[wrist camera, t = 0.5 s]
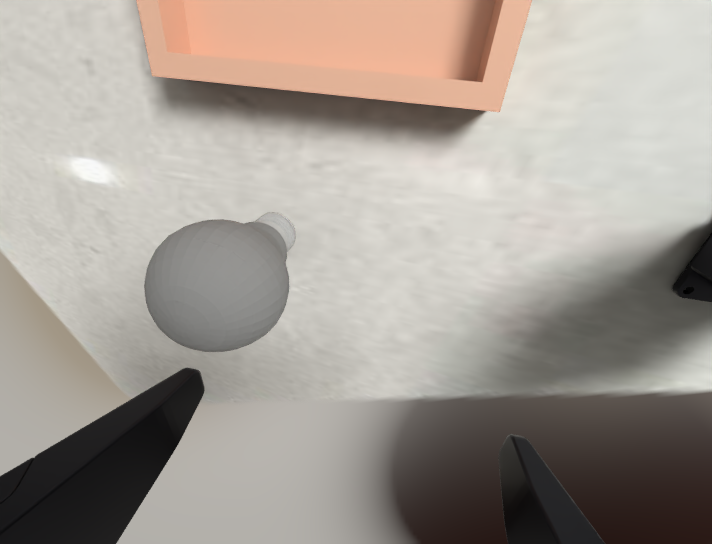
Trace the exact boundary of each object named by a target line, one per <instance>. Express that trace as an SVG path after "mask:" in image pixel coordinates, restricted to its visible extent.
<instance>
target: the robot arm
mask: <svg viewBox="0 0 712 544" xmlns="http://www.w3.org/2000/svg"><path fill="white" fill-rule="evenodd" d="M687 287H688V288H687ZM685 288H687V289H685ZM672 289H673V292H674V293H676V294H677V295H678V296H680V297H682V298H688V299H695V300H701V301H708V302H712V234H711V235H710V237H709V238H708V239H707V241H706V242H705V243H704V245H703V246H702V248H701V249H700V250H699V252H698V253H697V254H696V256H695V257H694V258H693V260H692V261H691V263H690V264H689V265H688V267H687V268H686V269H685V271H684V272H683V273H682V275H681V276H680V278H679V279H678V280H677V282H676V283H675V284H674V286H673V288H672ZM684 289H685V290H684ZM203 394H204V384H203V380H202V377H201V373H200V371H199V370H196V369H191V368H185V369H182V370H180V371H179V372H177V373H175V374H174V375H172V376H170V377H169V378H167V379H165V380H163V381H162V382H160V383H158V384H157V385H155V386H153V387H152V388H150V389H148V390H146V391H145V392H143V393H141V394H140V395H138V396H136V397H135V398H133V399H131V400H129V401H128V402H126V403H124V404H123V405H121V406H119V407H118V408H116V409H114V410H112V411H111V412H109V413H107V414H106V415H104V416H102V417H101V418H99V419H97V420H95V421H94V422H92V423H90V424H89V425H87V426H85V427H84V428H82V429H80V430H78V431H77V432H75V433H73V434H72V435H70V436H68V437H67V438H65V439H63V440H61V441H60V442H58V443H56V444H55V445H53V446H51V447H50V448H48V449H46V450H45V451H43V452H41V453H39V454H38V455H37V456H35V458H31V459H29V460H27V461H26V462H24V463H22V464H21V465H19V466H17V467H16V468H14V469H12V470H10V471H8V472H7V473H5V474H3V475H2V476H0V544H116V543H117V541H118V540H119V538H120V537H121V535H122V533H123V532H124V530H125V529H126V527H127V525H128V524H129V522H130V521H131V519H132V517H133V516H134V514H135V513H136V511H137V509H138V508H139V506H140V505H141V503H142V501H143V500H144V498H145V497H146V495H147V494H148V492H149V490H150V489H151V487H152V486H153V484H154V482H155V481H156V479H157V478H158V476H159V474H160V473H161V471H162V470H163V468H164V466H165V465H166V463H167V462H168V460H169V458H170V457H171V455H172V454H173V452H174V450H175V449H176V447H177V445H178V443H179V441H180V440H181V438H182V436H183V434H184V432H185V430H186V428H187V426H188V424H189V422H190V420H191V418H192V416H193V414H194V412H195V410H196V408H197V406H198V404H199V402H200V400H201V398H202V396H203ZM499 469H500V479H501V491H502V502H503V513H504V521H505V529H506V535H507V540H508V544H605V543H604V542H603V540H602V539H601V538H600V536H599V535H598V534H597V532H596V531H595V529H594V528H593V527H592V526H591V524H590V523H589V521H588V520H587V519H586V517H585V516H584V515H583V513H582V512H581V511H580V509H579V508H578V507H577V505H576V504H575V502H574V501H573V500H572V498H571V497H570V496H569V494H568V493H567V492H566V490H565V489H564V488H563V486H562V485H561V484H560V482H559V481H558V480H557V478H556V477H555V476H554V474H553V473H552V472H551V470H550V469H549V468H548V466H547V465H546V463H545V462H544V461H543V459H542V458H541V457H540V455H539V454H538V453H537V451H536V450H535V449H534V447H533V446H532V445H531V444H530V442H529V441H528V440H527V439H526V438H525V437H523V436H518V435H513V434H510V435H508V436H507V438H506V440H505V441H504V443H503V445H502V447H501V449H500V451H499Z"/></svg>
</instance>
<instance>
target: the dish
mask: <svg viewBox="0 0 712 544" xmlns="http://www.w3.org/2000/svg"><path fill="white" fill-rule="evenodd" d="M136 1H137V6H138V10H139V15H140V20H141V25H142V29H143V34H144V39H145V44H146V48H147V53H148V58H149V63H150V67H151V72H152V76H156V77H166V78H176V79H185V80H195V81H205V82H214V83H224V84H233V85H243V86H253V87H262V88H272V89H282V90H291V91H301V92H310V93H320V94H330V95H339V96H349V97H359V98H368V99H378V100H387V101H397V102H407V103H416V104H426V105H436V106H445V107H455V108H464V109H474V110H484V111H493V112H500V109H501V106H502V102H503V99H504V96H505V92H506V89H507V85H508V82H509V78H510V75H511V71H512V68H513V65H514V61H515V58H516V54H517V51H518V47H519V44H520V40H521V37H522V33H523V30H524V27H525V23H526V20H527V16H528V13H529V9H530V6H531V2H532V0H136Z"/></svg>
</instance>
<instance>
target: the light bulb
mask: <svg viewBox="0 0 712 544" xmlns="http://www.w3.org/2000/svg"><path fill="white" fill-rule="evenodd" d="M295 239H296V232H295V229H294V226H293V224H292V223H291V222H290V220H289V219H288V218H286V217H285V216H283V215H282V214H279V213H275V212H270V213H266V214H264V215H263V216H261V217H260V218H259V219H258V220H256V221H255V222H249V223H245V224H243V223H239V222H235V221H230V220H224V219H223V220H207V221H202V222H198V223H194V224H191V225H188V226H185V227H183V228H182V229H180V230H178V231H176V232H175V233H173V234H171V235H169V236H168V237H167V238H166V239H165V240H164V241H163V242H162V243H161V245H160V246H159V247H158V248H157V249H156V251H155V253H154V254H153V256H152V258H151V260H150V262H149V265H148V268H147V272H146V278H145V285H144V287H145V297H146V303H147V307H148V310H149V312H150V314H151V316H152V318H153V320H154V322H155V323H156V325H157V326H158V327H159V328H160V330H161V331H162V332H163V333H164V334H165V335H167V336H168V337H169V338H170V339H172V340H173V341H175V342H177V343H179V344H181V345H183V346H185V347H188V348H191V349H195V350H200V351H205V352H223V351H230V350H234V349H238V348H241V347H244V346H247V345H249V344H251V343H253V342H255V341H256V340H258V339H260V338H261V337H263V336H264V335H266V334H267V333H268V332H269V331H270V330H271V329H272V328H273V327H274V326H275V325H276V323H277V321H278V320H279V318H280V316H281V314H282V312H283V311H284V308H285V305H286V302H287V297H288V293H289V276H288V271H287V267H286V264H285V262H286V258H287V252H288V250H289V249H290V248H291V247H292V245H293V244H294V242H295Z"/></svg>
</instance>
